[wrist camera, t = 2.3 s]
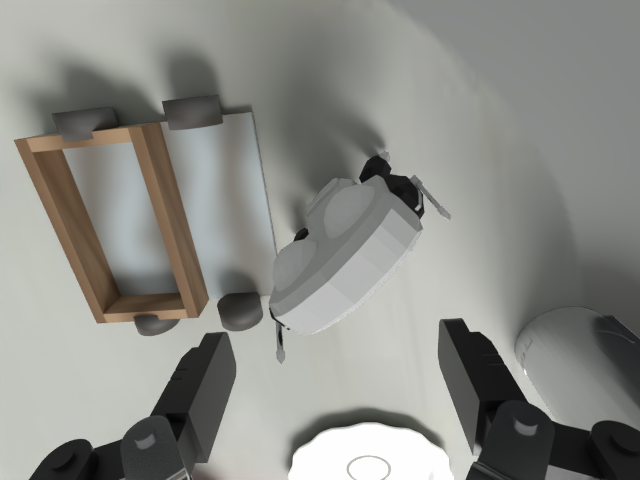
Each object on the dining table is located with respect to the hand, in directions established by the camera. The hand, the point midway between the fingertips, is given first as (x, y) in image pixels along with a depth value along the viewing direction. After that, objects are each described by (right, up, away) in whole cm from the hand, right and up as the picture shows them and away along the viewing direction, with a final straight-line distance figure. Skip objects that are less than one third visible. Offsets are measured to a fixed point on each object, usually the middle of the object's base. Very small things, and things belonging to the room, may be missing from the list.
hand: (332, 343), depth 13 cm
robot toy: (+1, +8, +17) cm, 19 cm away
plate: (+6, -26, +33) cm, 43 cm away
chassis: (-14, +6, +19) cm, 24 cm away
